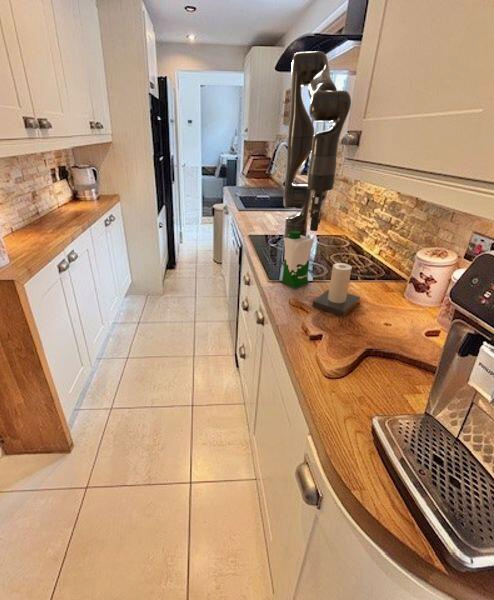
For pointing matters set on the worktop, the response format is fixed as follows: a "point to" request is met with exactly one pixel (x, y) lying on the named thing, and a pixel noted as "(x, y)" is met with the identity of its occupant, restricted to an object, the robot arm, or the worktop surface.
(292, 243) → the soya milk
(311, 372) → the worktop surface
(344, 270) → the paper roll
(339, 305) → the slate board
